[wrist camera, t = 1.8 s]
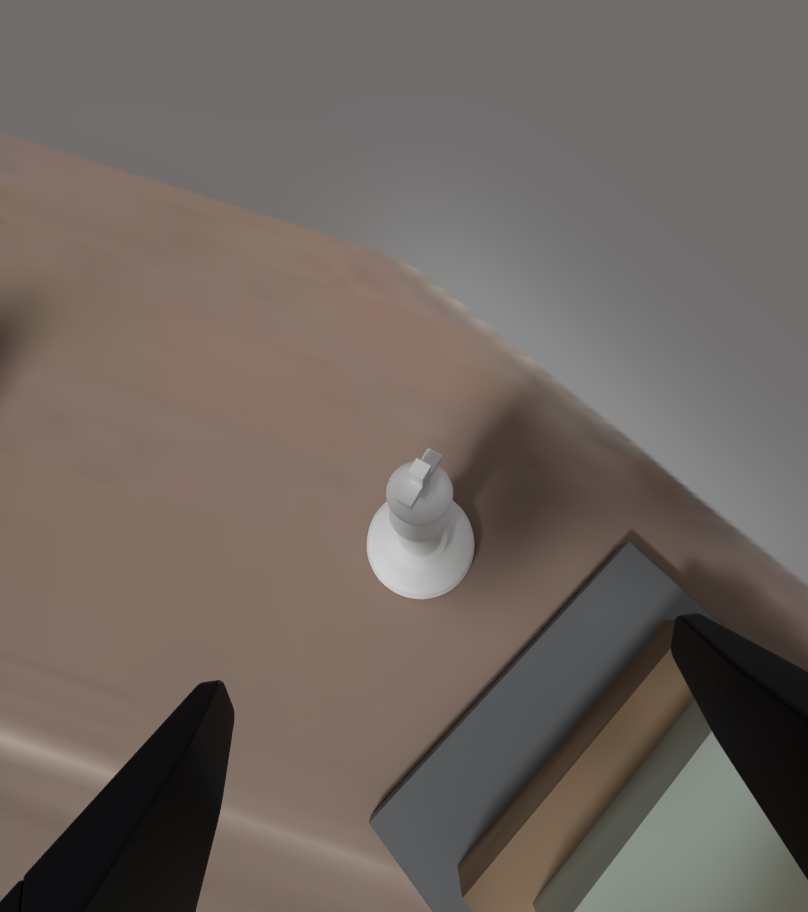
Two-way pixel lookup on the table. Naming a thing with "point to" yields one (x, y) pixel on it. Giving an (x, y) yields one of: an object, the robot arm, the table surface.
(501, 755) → the baseplate
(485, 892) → the stacked blocks
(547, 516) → the table surface
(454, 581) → the chess piece
